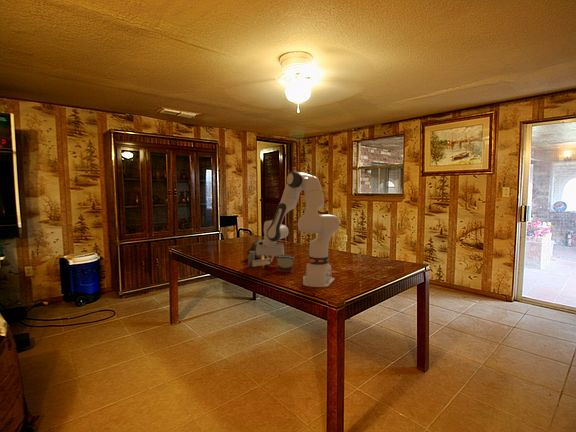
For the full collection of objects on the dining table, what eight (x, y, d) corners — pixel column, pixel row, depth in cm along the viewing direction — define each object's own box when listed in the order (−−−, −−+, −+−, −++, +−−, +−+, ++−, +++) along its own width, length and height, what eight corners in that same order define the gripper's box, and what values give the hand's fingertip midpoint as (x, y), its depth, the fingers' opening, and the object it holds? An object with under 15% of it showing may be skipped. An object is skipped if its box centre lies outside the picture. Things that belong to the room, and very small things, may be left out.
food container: (296, 269, 207) (296, 254, 207) (294, 271, 201) (294, 256, 201) (278, 268, 211) (278, 254, 210) (276, 270, 205) (276, 255, 204)
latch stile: (253, 263, 226) (253, 251, 225) (249, 262, 227) (249, 251, 226) (254, 262, 228) (254, 251, 227) (250, 262, 229) (250, 250, 228)
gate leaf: (252, 266, 213) (252, 261, 213) (252, 266, 215) (252, 260, 214) (270, 264, 221) (270, 258, 221) (269, 263, 222) (269, 258, 222)
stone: (255, 256, 250) (255, 237, 249) (266, 257, 245) (265, 238, 244) (244, 259, 238) (244, 240, 236) (255, 261, 233) (255, 241, 231)
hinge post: (251, 268, 211) (251, 254, 211) (247, 267, 212) (247, 254, 211) (252, 267, 214) (252, 253, 213) (249, 266, 215) (248, 253, 214)
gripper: (285, 242, 219) (285, 261, 220) (258, 241, 223) (258, 259, 224) (283, 243, 212) (283, 263, 214) (255, 242, 217) (255, 261, 218)
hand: (270, 261), depth 219 cm, fingers closed
